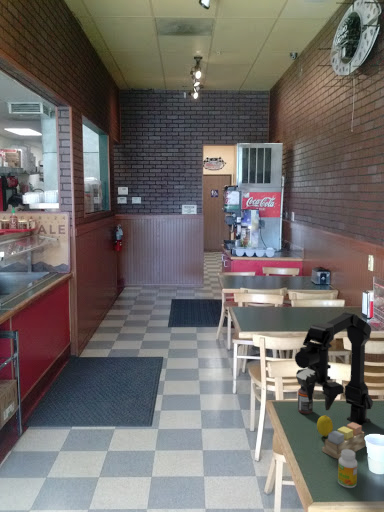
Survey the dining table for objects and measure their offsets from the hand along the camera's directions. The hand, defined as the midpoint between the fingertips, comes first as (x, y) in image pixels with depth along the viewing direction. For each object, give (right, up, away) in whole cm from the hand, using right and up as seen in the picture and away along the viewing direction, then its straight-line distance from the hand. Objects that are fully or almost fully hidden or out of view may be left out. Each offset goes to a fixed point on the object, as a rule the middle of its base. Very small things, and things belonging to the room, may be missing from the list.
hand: (318, 404), depth 163 cm
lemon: (+4, -14, +6) cm, 16 cm away
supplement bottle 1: (+2, -12, +27) cm, 30 cm away
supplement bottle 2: (+3, -17, -22) cm, 28 cm away
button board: (+8, -14, -2) cm, 17 cm away
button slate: (+4, -12, -6) cm, 14 cm away
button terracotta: (+13, -11, +1) cm, 17 cm away
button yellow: (+8, -12, -3) cm, 15 cm away
